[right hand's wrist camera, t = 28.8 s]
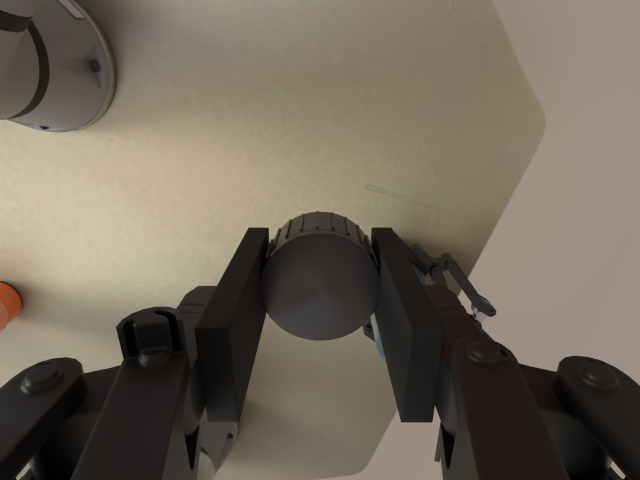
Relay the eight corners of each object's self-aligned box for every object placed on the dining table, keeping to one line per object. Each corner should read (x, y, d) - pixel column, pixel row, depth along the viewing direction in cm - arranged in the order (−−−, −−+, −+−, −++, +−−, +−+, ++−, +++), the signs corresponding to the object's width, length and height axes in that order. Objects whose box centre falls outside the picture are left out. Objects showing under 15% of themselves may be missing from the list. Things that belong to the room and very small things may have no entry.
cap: (248, 237, 14) (234, 263, 12) (347, 191, 13) (352, 210, 11) (296, 320, 15) (292, 357, 13) (389, 283, 15) (401, 315, 12)
